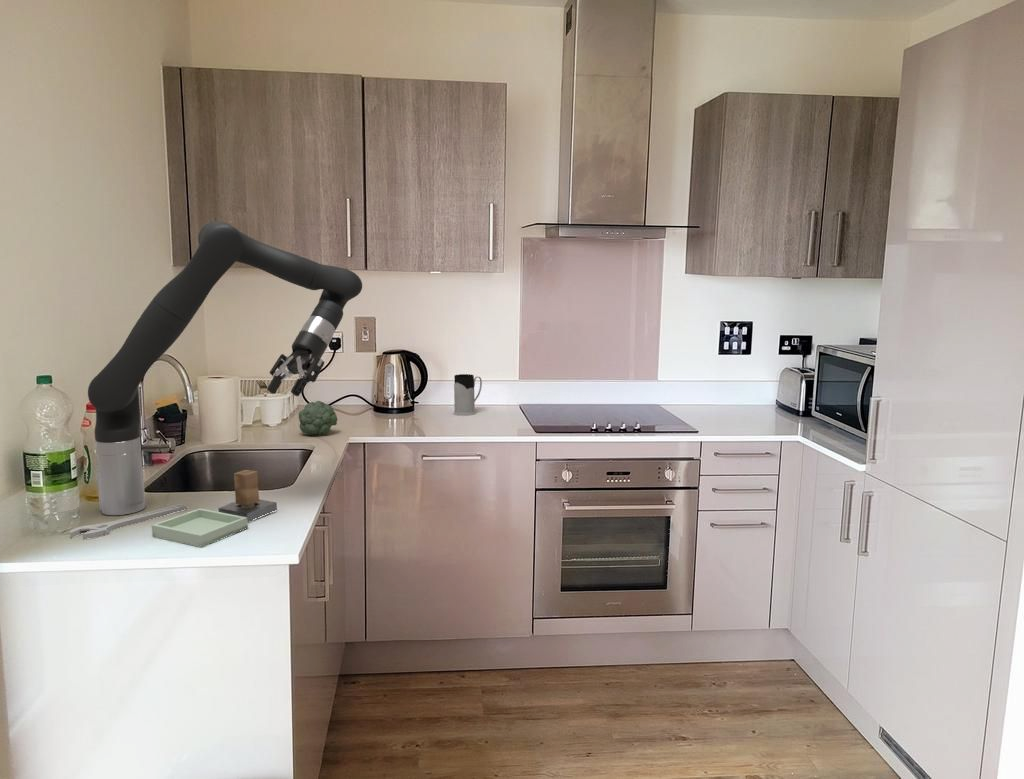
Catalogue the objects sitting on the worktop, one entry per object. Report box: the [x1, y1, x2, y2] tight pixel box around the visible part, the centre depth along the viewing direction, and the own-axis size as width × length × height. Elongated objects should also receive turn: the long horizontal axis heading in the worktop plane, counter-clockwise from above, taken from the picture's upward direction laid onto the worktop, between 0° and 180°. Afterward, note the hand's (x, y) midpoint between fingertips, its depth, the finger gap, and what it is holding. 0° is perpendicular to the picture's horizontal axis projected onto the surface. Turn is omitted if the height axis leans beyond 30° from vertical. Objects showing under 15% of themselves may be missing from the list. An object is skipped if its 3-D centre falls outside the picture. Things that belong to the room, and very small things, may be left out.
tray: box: [151, 507, 249, 548], centre depth 162 cm, size 15×13×2 cm
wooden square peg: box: [233, 469, 260, 509], centre depth 174 cm, size 4×4×10 cm
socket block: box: [217, 498, 278, 523], centre depth 174 cm, size 9×9×2 cm
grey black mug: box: [453, 373, 483, 417], centre depth 295 cm, size 9×14×15 cm, turn 140°
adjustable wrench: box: [69, 503, 187, 540], centre depth 168 cm, size 25×6×2 cm, turn 139°
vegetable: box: [298, 400, 339, 436], centre depth 259 cm, size 12×13×15 cm
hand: (282, 393), depth 179 cm, fingers open, 8 cm apart
